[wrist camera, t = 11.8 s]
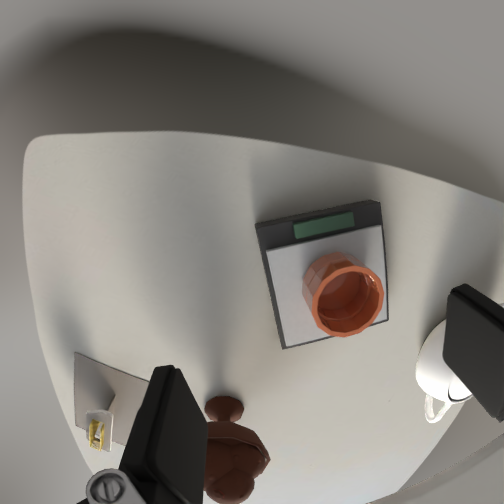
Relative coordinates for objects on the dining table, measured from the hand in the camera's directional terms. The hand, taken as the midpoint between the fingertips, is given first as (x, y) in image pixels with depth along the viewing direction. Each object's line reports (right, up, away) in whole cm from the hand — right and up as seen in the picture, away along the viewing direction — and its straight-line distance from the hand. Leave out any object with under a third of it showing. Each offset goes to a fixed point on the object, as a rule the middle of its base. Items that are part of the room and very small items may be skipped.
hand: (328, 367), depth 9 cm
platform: (-24, -20, +29) cm, 43 cm away
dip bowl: (+6, +1, +21) cm, 22 cm away
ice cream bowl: (-6, -18, +29) cm, 35 cm away
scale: (+6, +1, +24) cm, 25 cm away
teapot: (+27, -10, +28) cm, 40 cm away
